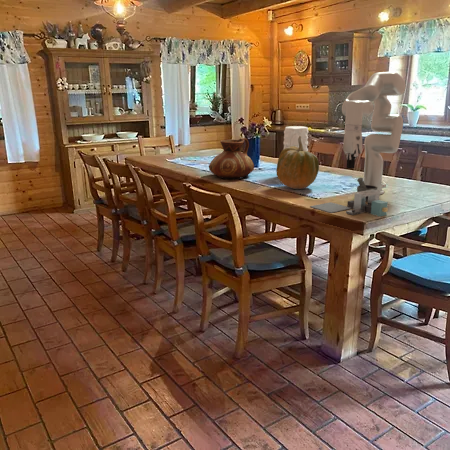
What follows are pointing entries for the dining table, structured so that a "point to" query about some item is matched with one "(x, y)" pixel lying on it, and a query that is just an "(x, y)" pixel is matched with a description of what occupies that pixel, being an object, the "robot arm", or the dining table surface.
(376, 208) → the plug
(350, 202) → the lead
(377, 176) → the robot arm
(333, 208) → the mat
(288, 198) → the dining table surface
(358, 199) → the housing
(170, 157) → the dining table surface
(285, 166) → the pumpkin
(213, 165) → the jug
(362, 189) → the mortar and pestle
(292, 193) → the dining table surface
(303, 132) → the vase
